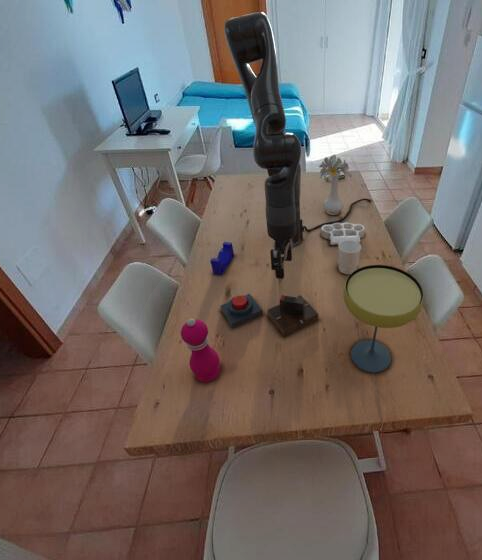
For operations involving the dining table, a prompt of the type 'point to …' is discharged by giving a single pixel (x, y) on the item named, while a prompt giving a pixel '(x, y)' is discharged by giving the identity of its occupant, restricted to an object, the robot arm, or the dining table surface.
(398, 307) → the cocktail glass
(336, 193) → the flower vase
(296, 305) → the selector knob handle
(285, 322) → the switch base
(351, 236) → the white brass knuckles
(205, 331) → the pepper mill
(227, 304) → the button box
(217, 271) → the blue notched block
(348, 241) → the white cup
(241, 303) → the button
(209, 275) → the dining table surface
